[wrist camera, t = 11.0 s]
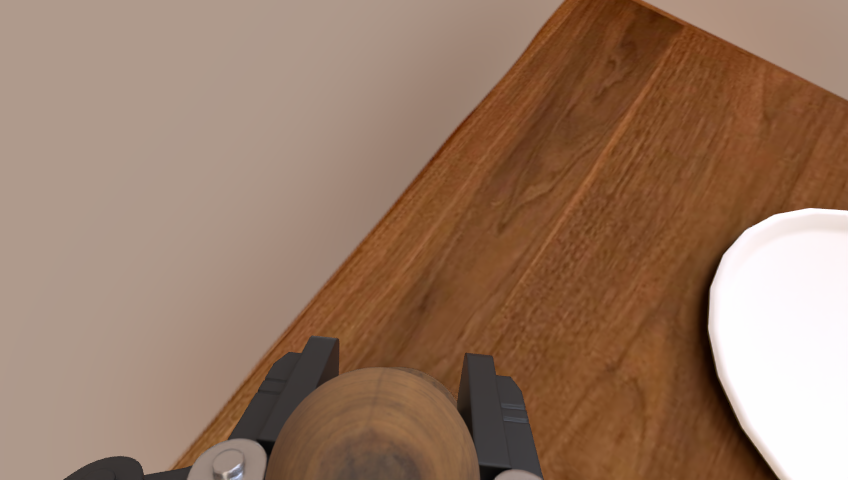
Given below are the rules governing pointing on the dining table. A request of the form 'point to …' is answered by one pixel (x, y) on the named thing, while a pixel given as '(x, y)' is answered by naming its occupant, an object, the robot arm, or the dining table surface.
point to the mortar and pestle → (375, 431)
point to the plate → (786, 340)
